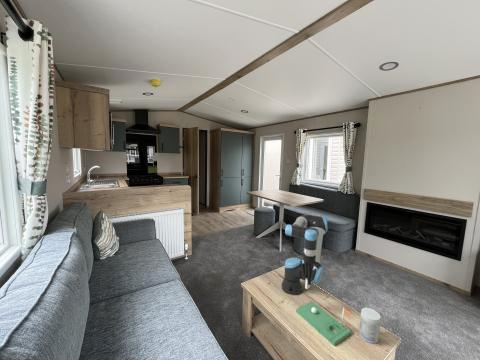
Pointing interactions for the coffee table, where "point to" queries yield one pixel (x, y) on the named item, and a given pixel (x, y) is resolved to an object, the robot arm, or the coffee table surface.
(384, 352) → the coffee table surface
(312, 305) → the putting strip
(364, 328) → the supplement tub
